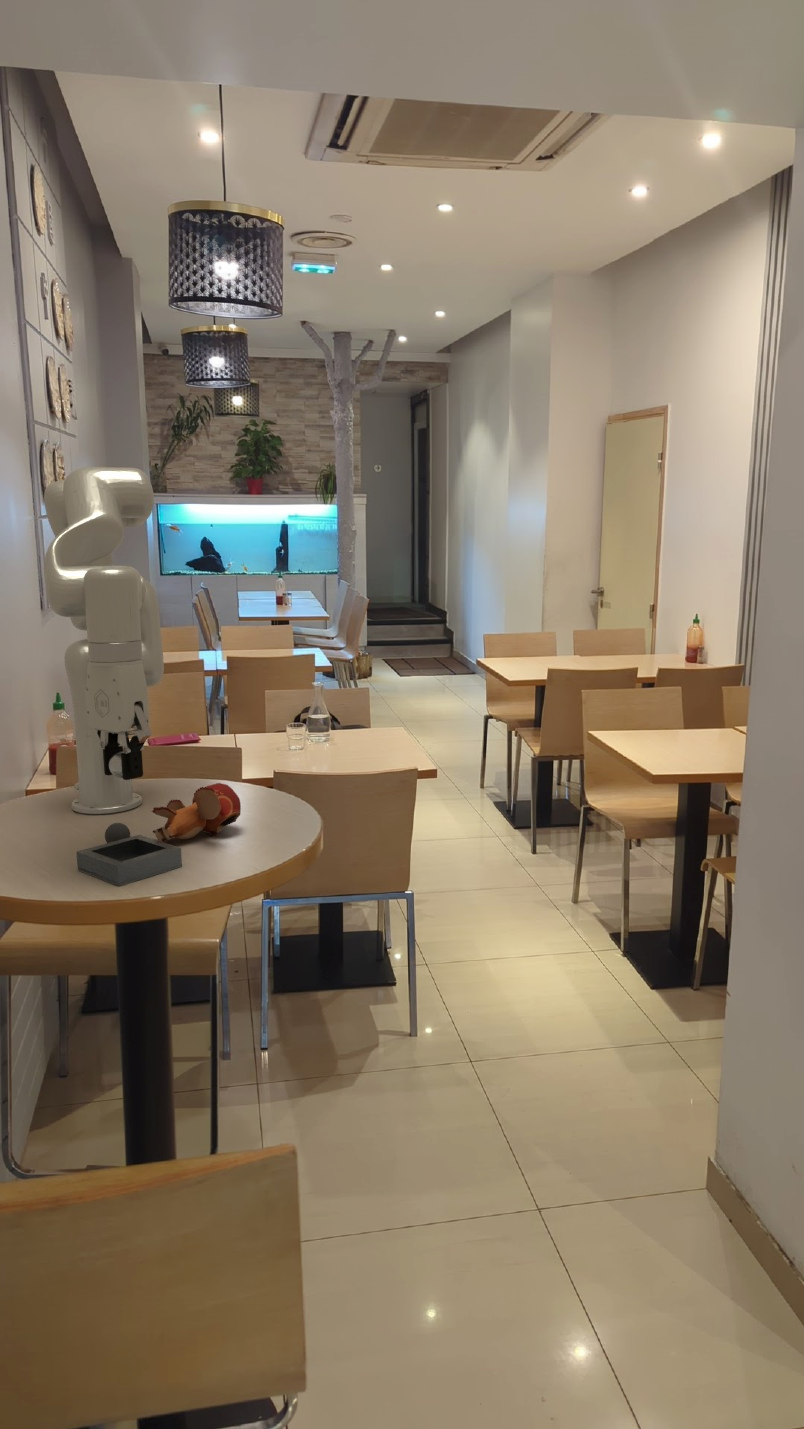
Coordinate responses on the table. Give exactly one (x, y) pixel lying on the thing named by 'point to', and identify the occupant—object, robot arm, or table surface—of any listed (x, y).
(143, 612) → the robot arm
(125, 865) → the square metal tray
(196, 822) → the figurine
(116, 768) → the steel ball
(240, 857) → the table surface
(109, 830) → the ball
